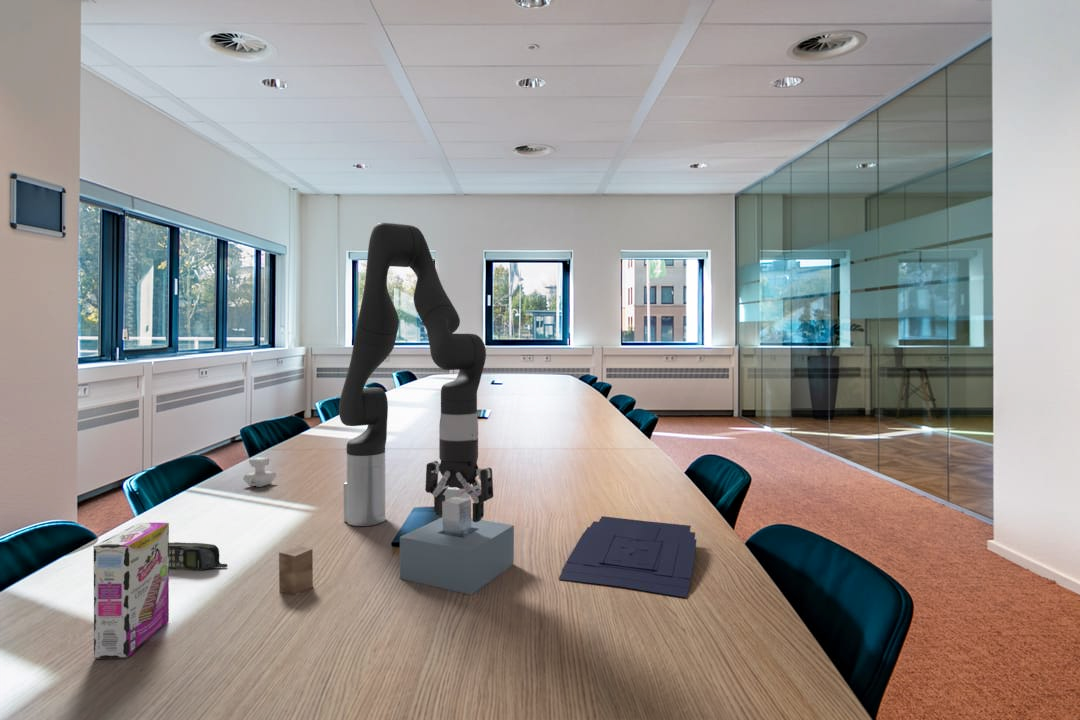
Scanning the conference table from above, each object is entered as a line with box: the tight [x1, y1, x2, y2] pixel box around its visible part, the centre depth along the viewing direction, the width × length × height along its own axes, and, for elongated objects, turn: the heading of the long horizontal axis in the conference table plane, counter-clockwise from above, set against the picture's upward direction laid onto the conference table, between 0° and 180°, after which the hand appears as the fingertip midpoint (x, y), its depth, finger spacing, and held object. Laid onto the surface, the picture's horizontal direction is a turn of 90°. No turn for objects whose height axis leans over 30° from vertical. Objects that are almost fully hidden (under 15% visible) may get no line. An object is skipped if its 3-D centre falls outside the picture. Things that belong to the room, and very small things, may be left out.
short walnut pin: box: [278, 545, 314, 596], centre depth 108 cm, size 4×4×7 cm
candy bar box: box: [93, 522, 170, 660], centre depth 89 cm, size 11×5×16 cm, turn 5°
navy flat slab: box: [558, 515, 697, 598], centre depth 123 cm, size 24×30×4 cm
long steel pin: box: [442, 497, 472, 538], centre depth 116 cm, size 4×4×14 cm
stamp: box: [243, 456, 277, 488], centre depth 181 cm, size 9×7×8 cm
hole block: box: [399, 517, 515, 596], centre depth 116 cm, size 16×16×8 cm
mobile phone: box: [169, 541, 229, 571], centre depth 117 cm, size 5×3×15 cm
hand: (458, 517), depth 116 cm, fingers open, 8 cm apart
